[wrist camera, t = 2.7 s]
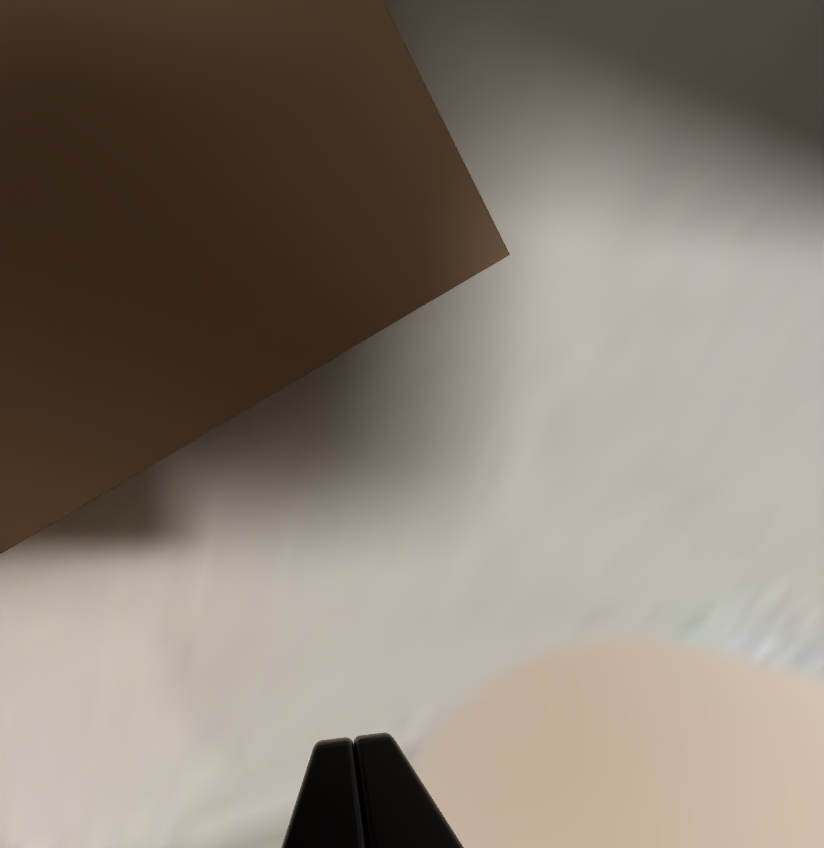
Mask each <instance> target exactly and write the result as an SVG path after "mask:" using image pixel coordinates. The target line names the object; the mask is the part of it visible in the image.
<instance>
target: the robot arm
mask: <svg viewBox="0 0 824 848" xmlns="http://www.w3.org/2000/svg"><path fill="white" fill-rule="evenodd" d="M282 848H463V846H462V844H461V843H460V842H459V840H458V838H457V837H456V835H455V834H454V832H453V831H452V829H451V827H450V826H449V824H448V823H447V821H446V820H445V818H444V816H443V815H442V813H441V812H440V810H439V808H438V807H437V805H436V804H435V802H434V801H433V799H432V797H431V796H430V794H429V793H428V791H427V790H426V788H425V787H424V785H423V783H422V782H421V780H420V779H419V777H418V776H417V774H416V772H415V771H414V769H413V768H412V766H411V765H410V763H409V761H408V760H407V758H406V757H405V755H404V754H403V752H402V750H401V749H400V747H399V746H398V744H397V743H396V741H395V740H394V738H393V737H392V736H391V735H390V734H388V733H377V734H369V735H361V736H358V737H356V738H355V740H354V743H353V742H352V740H351V739H349V738H346V737H345V738H337V739H329V740H321V741H319V742H317V743H316V745H315V746H314V748H313V751H312V754H311V757H310V760H309V763H308V766H307V770H306V773H305V776H304V779H303V782H302V785H301V788H300V792H299V795H298V798H297V801H296V804H295V807H294V810H293V814H292V817H291V820H290V823H289V826H288V829H287V832H286V835H285V839H284V842H283V845H282Z"/></svg>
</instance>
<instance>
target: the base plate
mask: <svg viewBox="0 0 824 848" xmlns="http://www.w3.org/2000/svg"><path fill="white" fill-rule="evenodd" d="M508 255H510V254H509V252H508V250H507V248H506V246H505V244H504V242H503V240H502V238H501V236H500V234H499V232H498V230H497V228H496V226H495V224H494V222H493V220H492V218H491V216H490V214H489V212H488V210H487V208H486V206H485V204H484V202H483V200H482V198H481V196H480V194H479V192H478V190H477V188H476V186H475V184H474V182H473V180H472V178H471V176H470V174H469V172H468V170H467V168H466V166H465V164H464V162H463V160H462V158H461V156H460V154H459V152H458V150H457V148H456V146H455V144H454V142H453V140H452V138H451V136H450V134H449V132H448V130H447V128H446V126H445V124H444V122H443V120H442V118H441V116H440V114H439V112H438V110H437V108H436V106H435V104H434V102H433V100H432V98H431V96H430V94H429V92H428V90H427V88H426V86H425V84H424V82H423V80H422V78H421V76H420V74H419V72H418V70H417V68H416V66H415V64H414V62H413V60H412V58H411V56H410V54H409V52H408V50H407V48H406V46H405V44H404V42H403V40H402V38H401V36H400V34H399V32H398V30H397V28H396V26H395V24H394V22H393V20H392V18H391V16H390V14H389V12H388V10H387V8H386V6H385V4H384V2H383V0H0V554H1V553H3V552H4V551H6V550H8V549H10V548H11V547H13V546H15V545H16V544H18V543H20V542H21V541H23V540H25V539H27V538H28V537H30V536H32V535H33V534H35V533H37V532H38V531H40V530H42V529H44V528H45V527H47V526H49V525H50V524H52V523H54V522H55V521H57V520H59V519H61V518H62V517H64V516H66V515H67V514H69V513H71V512H72V511H74V510H76V509H78V508H79V507H81V506H83V505H84V504H86V503H88V502H90V501H91V500H93V499H95V498H96V497H98V496H100V495H101V494H103V493H105V492H107V491H108V490H110V489H112V488H113V487H115V486H117V485H118V484H120V483H122V482H124V481H125V480H127V479H129V478H130V477H132V476H134V475H135V474H137V473H139V472H141V471H142V470H144V469H146V468H147V467H149V466H151V465H152V464H154V463H156V462H158V461H159V460H161V459H163V458H164V457H166V456H168V455H169V454H171V453H173V452H175V451H176V450H178V449H180V448H181V447H183V446H185V445H187V444H188V443H190V442H192V441H193V440H195V439H197V438H198V437H200V436H202V435H204V434H205V433H207V432H209V431H210V430H212V429H214V428H215V427H217V426H219V425H221V424H222V423H224V422H226V421H227V420H229V419H231V418H232V417H234V416H236V415H238V414H239V413H241V412H243V411H244V410H246V409H248V408H249V407H251V406H253V405H255V404H256V403H258V402H260V401H261V400H263V399H265V398H267V397H268V396H270V395H272V394H273V393H275V392H277V391H278V390H280V389H282V388H284V387H285V386H287V385H289V384H290V383H292V382H294V381H295V380H297V379H299V378H301V377H302V376H304V375H306V374H307V373H309V372H311V371H312V370H314V369H316V368H318V367H319V366H321V365H323V364H324V363H326V362H328V361H329V360H331V359H333V358H335V357H336V356H338V355H340V354H341V353H343V352H345V351H347V350H348V349H350V348H352V347H353V346H355V345H357V344H358V343H360V342H362V341H364V340H365V339H367V338H369V337H370V336H372V335H374V334H375V333H377V332H379V331H381V330H382V329H384V328H386V327H387V326H389V325H391V324H392V323H394V322H396V321H398V320H399V319H401V318H403V317H404V316H406V315H408V314H409V313H411V312H413V311H415V310H416V309H418V308H420V307H421V306H423V305H425V304H426V303H428V302H430V301H432V300H433V299H435V298H437V297H438V296H440V295H442V294H444V293H445V292H447V291H449V290H450V289H452V288H454V287H455V286H457V285H459V284H461V283H462V282H464V281H466V280H467V279H469V278H471V277H472V276H474V275H476V274H478V273H479V272H481V271H483V270H484V269H486V268H488V267H489V266H491V265H493V264H495V263H496V262H498V261H500V260H501V259H503V258H505V257H506V256H508Z"/></svg>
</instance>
